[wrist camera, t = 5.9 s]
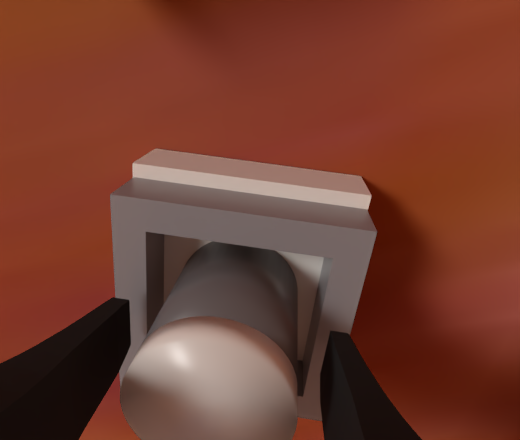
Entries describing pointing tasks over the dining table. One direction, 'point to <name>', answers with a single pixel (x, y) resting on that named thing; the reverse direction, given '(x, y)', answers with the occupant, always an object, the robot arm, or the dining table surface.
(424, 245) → the dining table surface
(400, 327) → the dining table surface
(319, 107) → the dining table surface
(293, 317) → the gray domed cylinder
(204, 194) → the grey square tray
